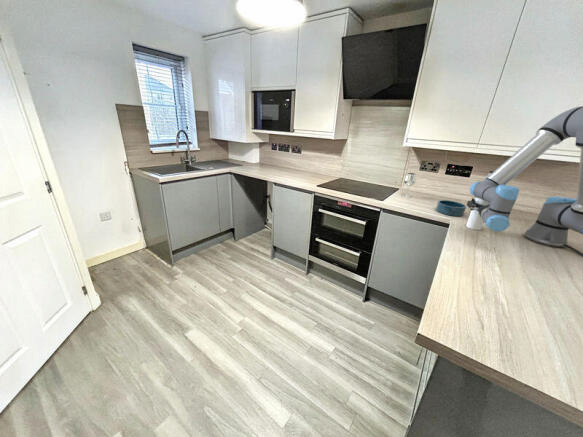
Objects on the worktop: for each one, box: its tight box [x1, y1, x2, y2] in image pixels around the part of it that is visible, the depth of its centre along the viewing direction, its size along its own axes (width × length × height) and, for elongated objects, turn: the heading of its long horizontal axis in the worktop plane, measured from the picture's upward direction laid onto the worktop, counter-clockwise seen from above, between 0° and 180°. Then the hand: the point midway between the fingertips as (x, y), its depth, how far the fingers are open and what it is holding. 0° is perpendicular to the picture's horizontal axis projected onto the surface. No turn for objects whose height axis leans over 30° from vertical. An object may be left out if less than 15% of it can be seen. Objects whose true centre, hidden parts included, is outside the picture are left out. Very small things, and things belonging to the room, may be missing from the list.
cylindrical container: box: [465, 197, 490, 231], centre depth 129 cm, size 7×7×25 cm
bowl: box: [435, 199, 467, 217], centre depth 154 cm, size 16×16×6 cm
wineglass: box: [401, 172, 417, 198], centre depth 185 cm, size 8×8×18 cm
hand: (480, 201), depth 132 cm, fingers closed on cylindrical container, 7 cm apart
